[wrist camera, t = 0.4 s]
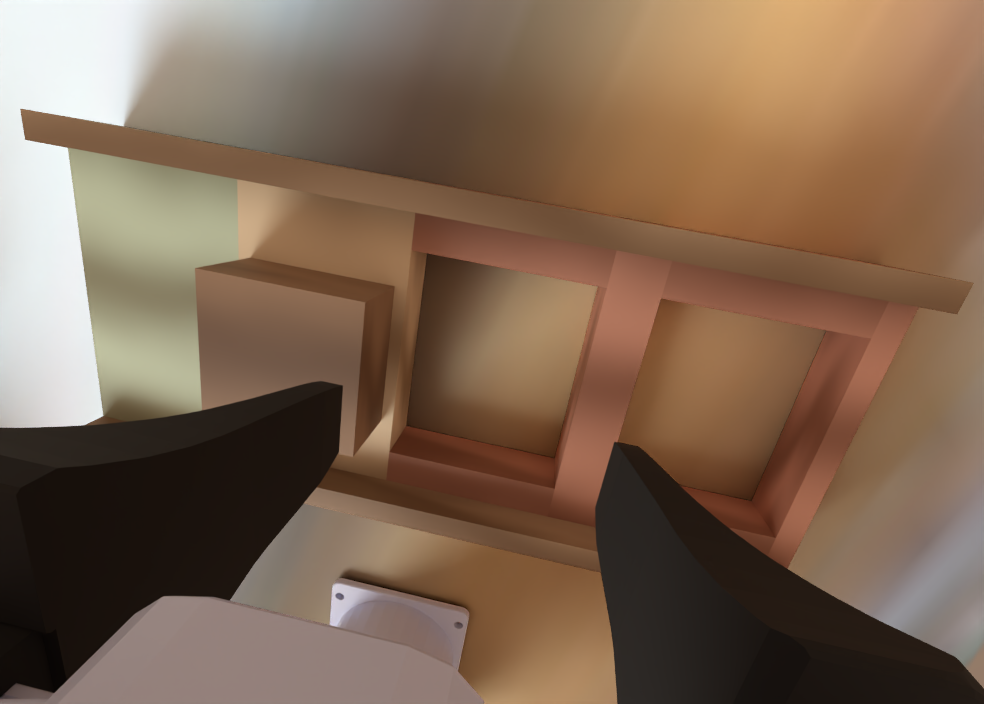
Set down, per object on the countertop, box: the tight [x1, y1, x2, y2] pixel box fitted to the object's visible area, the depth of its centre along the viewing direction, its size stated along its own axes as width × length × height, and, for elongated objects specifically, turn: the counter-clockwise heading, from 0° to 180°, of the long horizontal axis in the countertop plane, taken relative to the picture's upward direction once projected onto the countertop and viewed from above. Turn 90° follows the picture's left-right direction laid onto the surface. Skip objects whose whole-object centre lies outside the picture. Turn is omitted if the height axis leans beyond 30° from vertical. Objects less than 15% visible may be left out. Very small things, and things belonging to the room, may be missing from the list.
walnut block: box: [195, 258, 395, 457], centre depth 18 cm, size 6×6×3 cm
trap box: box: [20, 109, 974, 572], centre depth 19 cm, size 14×32×4 cm, turn 80°
